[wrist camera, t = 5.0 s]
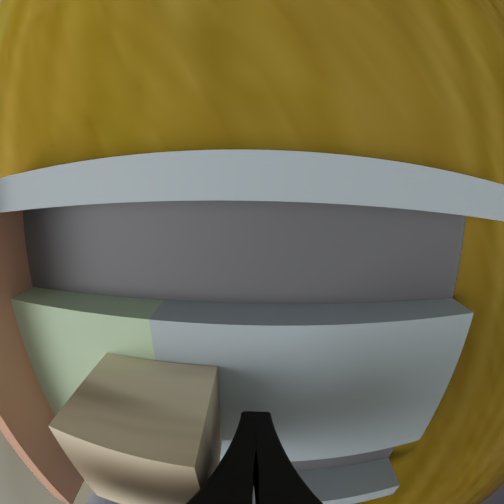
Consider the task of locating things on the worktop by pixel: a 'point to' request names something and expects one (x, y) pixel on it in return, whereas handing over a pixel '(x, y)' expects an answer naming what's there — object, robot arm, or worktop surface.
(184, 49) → the worktop surface
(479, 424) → the worktop surface
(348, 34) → the worktop surface
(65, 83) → the worktop surface
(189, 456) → the birch block
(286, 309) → the box
